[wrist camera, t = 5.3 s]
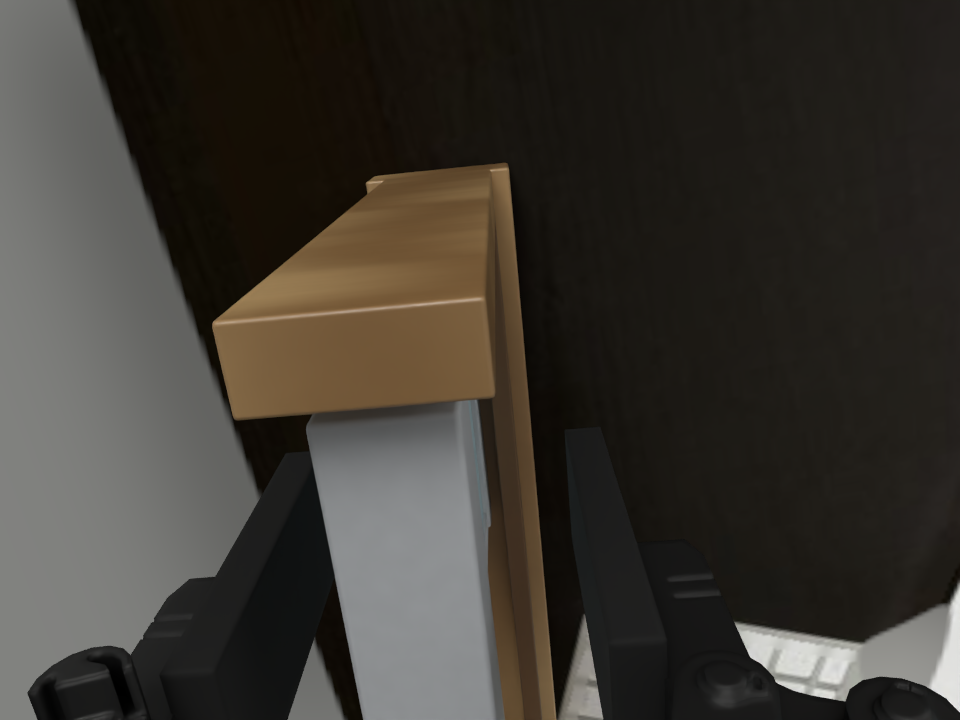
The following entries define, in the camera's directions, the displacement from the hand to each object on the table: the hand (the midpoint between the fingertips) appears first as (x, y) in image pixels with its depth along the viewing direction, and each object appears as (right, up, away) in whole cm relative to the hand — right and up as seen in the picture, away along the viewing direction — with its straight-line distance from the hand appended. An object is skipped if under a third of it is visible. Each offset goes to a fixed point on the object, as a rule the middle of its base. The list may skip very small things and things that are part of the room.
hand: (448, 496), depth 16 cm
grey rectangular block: (0, +2, +6) cm, 7 cm away
